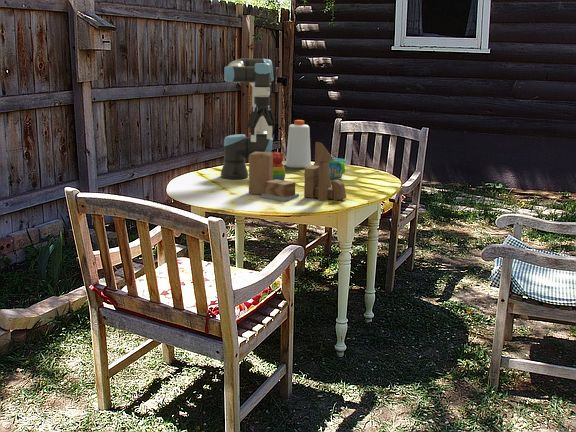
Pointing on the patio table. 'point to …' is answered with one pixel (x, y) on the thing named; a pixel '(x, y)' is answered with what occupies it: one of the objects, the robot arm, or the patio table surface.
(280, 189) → the walnut brick
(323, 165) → the wooden blocks
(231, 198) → the patio table surface
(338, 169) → the snack cup
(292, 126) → the plastic bottle
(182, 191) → the patio table surface
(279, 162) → the stacking bear
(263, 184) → the wooden block
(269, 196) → the plate
